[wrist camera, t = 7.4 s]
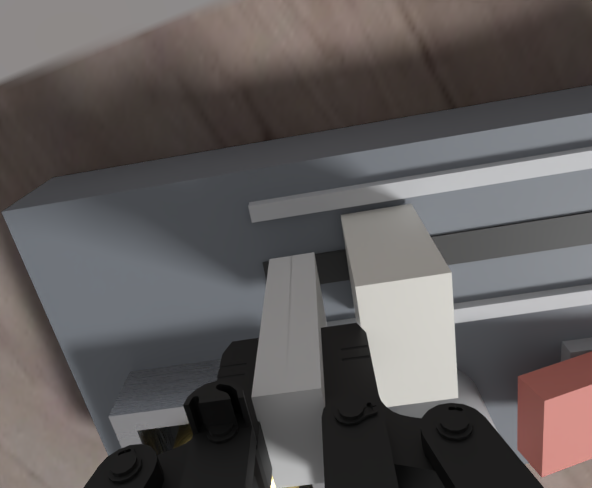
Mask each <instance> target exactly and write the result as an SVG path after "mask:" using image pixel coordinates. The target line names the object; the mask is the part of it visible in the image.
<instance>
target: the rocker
mask: <svg viewBox="0 0 592 488" xmlns="http://www.w3.org/2000/svg"><path fill="white" fill-rule="evenodd" d="M517 450H518V451H519V452H520V453H521V454H522V456H523V457H524V458H525V459H526V460H527V461H528V462H529V463H530V465H531V466H532V467H533V468H534V469H535V470H536V471H537V472H538V474H539V475H540V476H541V477H544V476H547V475H549V474H552V473H555V472H557V471H560V470H563V469H565V468H568V467H571V466H573V465H576V464H579V463H581V462H584V461H587V460H589V459H592V351H591V352H588V353H585V354H583V355H580V356H577V357H574V358H571V359H568V360H565V361H562V362H559V363H556V364H553V365H550V366H547V367H544V368H541V369H538V370H535V371H532V372H529V373H526V374H523V375H520V376H518V418H517Z"/></svg>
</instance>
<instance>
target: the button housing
mask: <svg viewBox="0 0 592 488" xmlns="http://www.w3.org/2000/svg"><path fill="white" fill-rule="evenodd" d="M220 362H221V359H216V360H209V361H201V362H194V363H187V364H180V365H173V366H166V367H159V368H151V369H144V370H137V371H130V372H129V374H128V376H127V378H126V381H125V383H124V385H123V387H122V389H121V391H120V393H119V395H118V397H117V400H116V402H115V404H114V406H113V408H112V410H111V412H110V414H109V419H110V422H111V424H112V426H113V429H114V431H115V433H116V436H117V438H118V441H119V443H120V445H121V448H124V447H126V446H129V445H135V444H144V445H147V446H151V447H152V449H153V450H154V451H155V452H156V454H157V455H159V454H161V453H164V452H167V451H169V450H172V449H173V446H174V443H175V439H174V437H173V434H172V431H171V428H170V426H177V425H185V424H189V421H188V418H187V415H186V413H185V410H184V407H183V404H184V403H185V401H186V399H187V397H188V396H189V395H190V394H191V393H192V392H194V391H195V390H196V389H197V388H199V387H201V386H203V385H205V384H207V383H211V382H215V381H216V380H217V375H218V371H219V369H220ZM299 488H325V485H324V483H319V484H310V485H301V486H299Z"/></svg>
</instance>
